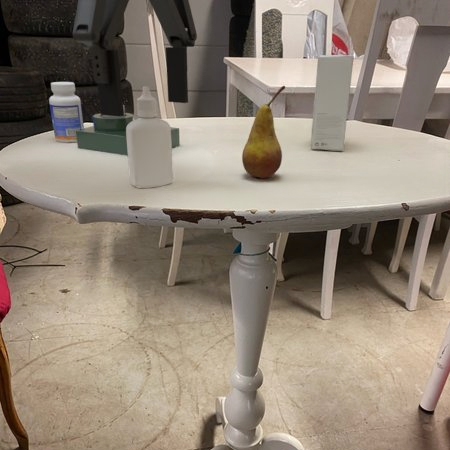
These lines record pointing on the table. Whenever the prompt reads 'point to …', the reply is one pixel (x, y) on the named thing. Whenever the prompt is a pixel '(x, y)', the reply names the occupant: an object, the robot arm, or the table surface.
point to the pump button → (114, 116)
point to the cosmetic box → (331, 101)
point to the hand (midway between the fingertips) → (148, 108)
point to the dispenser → (111, 134)
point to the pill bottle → (65, 111)
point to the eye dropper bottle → (149, 145)
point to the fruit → (262, 145)
